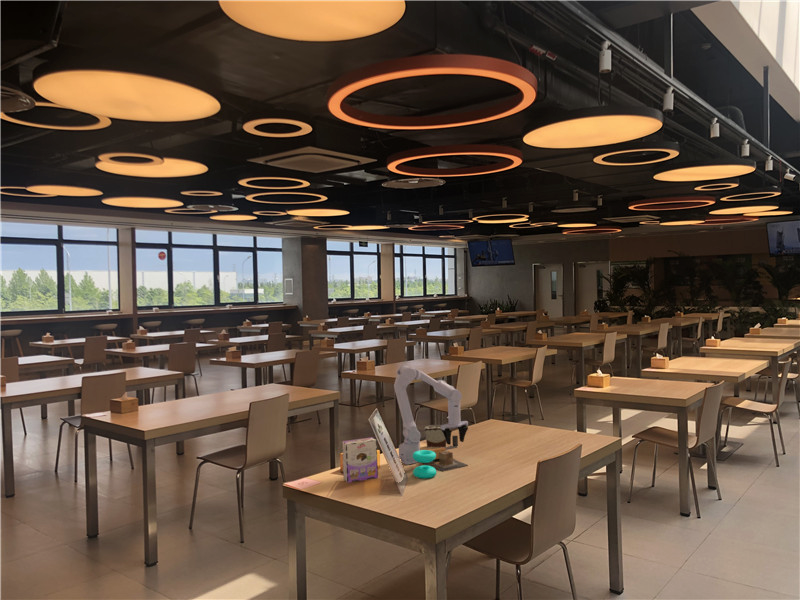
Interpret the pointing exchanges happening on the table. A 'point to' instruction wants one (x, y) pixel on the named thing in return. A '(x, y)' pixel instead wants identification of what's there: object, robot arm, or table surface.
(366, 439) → the candy box
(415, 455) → the donuts
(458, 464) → the frame
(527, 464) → the table surface
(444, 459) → the block
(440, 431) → the food container
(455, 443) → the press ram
